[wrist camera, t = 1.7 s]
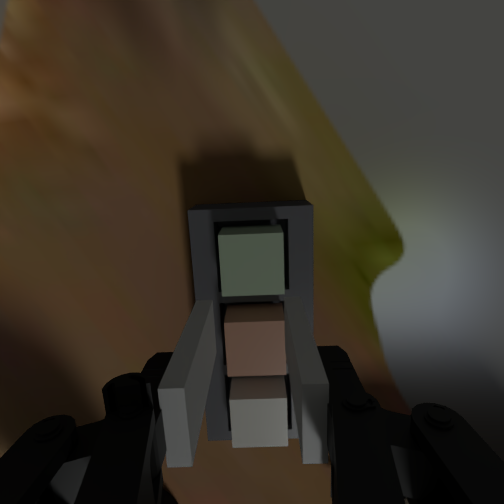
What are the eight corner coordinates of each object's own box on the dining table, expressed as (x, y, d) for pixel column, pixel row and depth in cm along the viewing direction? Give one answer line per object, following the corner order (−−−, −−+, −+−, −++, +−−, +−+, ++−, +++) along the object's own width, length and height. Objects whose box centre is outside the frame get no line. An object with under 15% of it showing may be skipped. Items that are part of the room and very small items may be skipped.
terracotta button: (230, 353, 32) (227, 376, 28) (227, 304, 31) (224, 322, 27) (283, 351, 32) (286, 374, 28) (281, 302, 30) (285, 320, 27)
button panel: (213, 411, 37) (208, 440, 33) (195, 204, 31) (187, 210, 28) (307, 408, 37) (313, 437, 33) (306, 200, 31) (313, 205, 27)
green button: (226, 281, 30) (222, 296, 27) (222, 226, 29) (217, 235, 25) (281, 279, 30) (284, 294, 26) (279, 224, 29) (283, 232, 25)
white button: (235, 418, 33) (232, 447, 30) (232, 374, 32) (229, 399, 29) (284, 416, 33) (288, 446, 30) (283, 372, 32) (287, 398, 29)
